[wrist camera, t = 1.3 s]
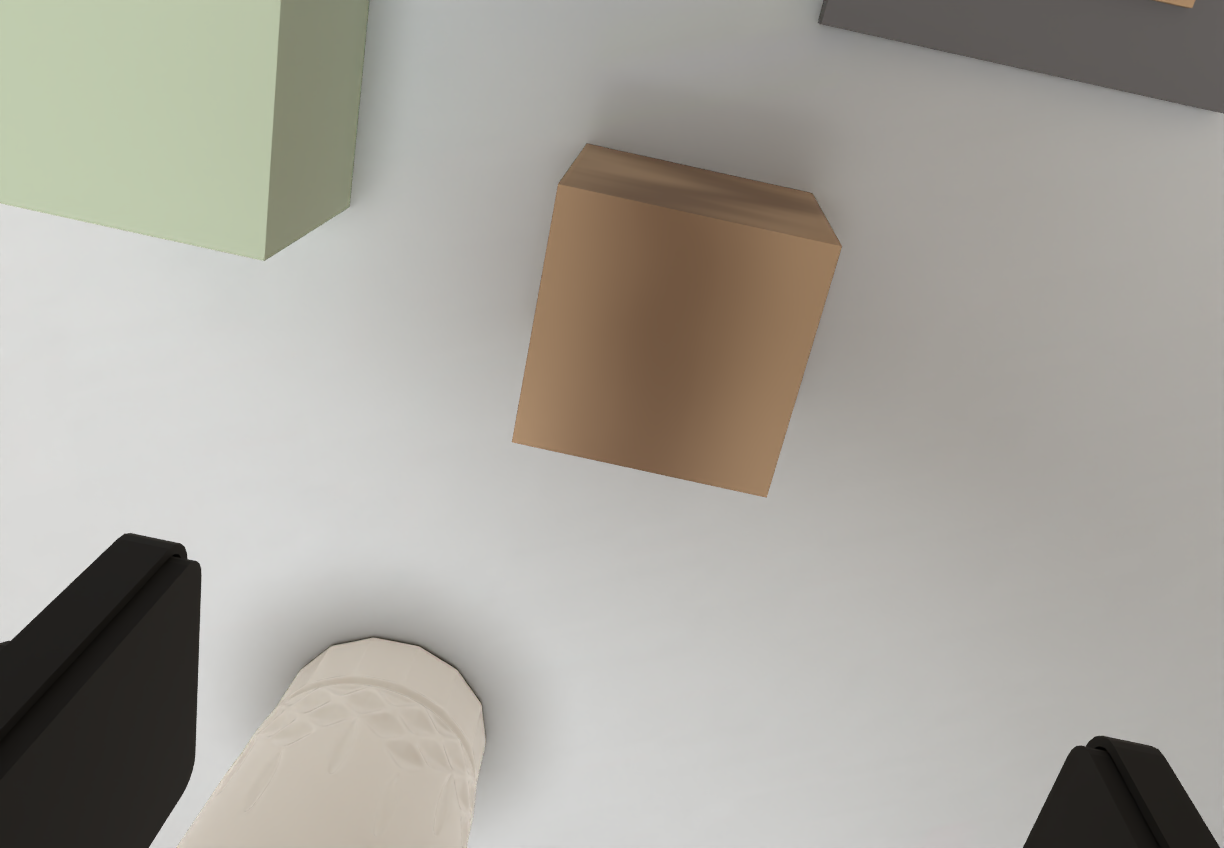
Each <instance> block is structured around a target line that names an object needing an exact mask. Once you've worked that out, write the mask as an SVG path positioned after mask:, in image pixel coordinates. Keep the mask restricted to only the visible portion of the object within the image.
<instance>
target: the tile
mask: <svg viewBox="0 0 1224 848" xmlns="http://www.w3.org/2000/svg"><path fill="white" fill-rule="evenodd" d="M818 23H820V24H823V25H828V26H832V27H837V28H841V29H846V30H850V31H855V32H859V33H864V34H868V35H873V36H878V37H882V38H887V39H891V40H896V41H900V42H905V43H909V44H914V45H918V46H923V47H927V48H932V49H936V50H941V51H945V52H950V53H954V54H959V55H963V56H968V57H972V58H977V59H981V60H986V61H990V62H995V63H999V64H1004V65H1008V66H1013V67H1017V68H1022V69H1026V70H1031V71H1035V72H1040V73H1044V74H1049V75H1053V76H1058V77H1062V78H1067V79H1071V80H1076V81H1080V82H1085V83H1089V84H1094V85H1098V86H1103V87H1107V88H1112V89H1116V90H1121V91H1125V92H1130V93H1134V94H1139V95H1143V96H1148V97H1152V98H1157V99H1161V100H1166V101H1170V102H1175V103H1179V104H1184V105H1188V106H1193V107H1197V108H1202V109H1206V110H1211V111H1215V112H1220V113H1224V0H824V3H823V6H822V10H821V14H820V18H819V21H818Z"/></svg>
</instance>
